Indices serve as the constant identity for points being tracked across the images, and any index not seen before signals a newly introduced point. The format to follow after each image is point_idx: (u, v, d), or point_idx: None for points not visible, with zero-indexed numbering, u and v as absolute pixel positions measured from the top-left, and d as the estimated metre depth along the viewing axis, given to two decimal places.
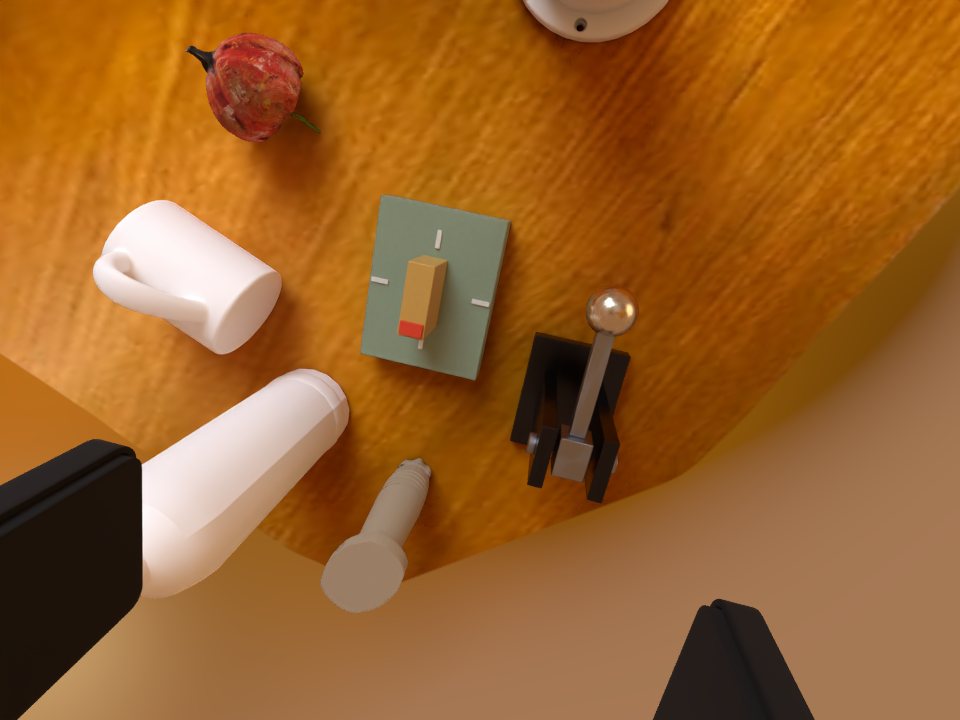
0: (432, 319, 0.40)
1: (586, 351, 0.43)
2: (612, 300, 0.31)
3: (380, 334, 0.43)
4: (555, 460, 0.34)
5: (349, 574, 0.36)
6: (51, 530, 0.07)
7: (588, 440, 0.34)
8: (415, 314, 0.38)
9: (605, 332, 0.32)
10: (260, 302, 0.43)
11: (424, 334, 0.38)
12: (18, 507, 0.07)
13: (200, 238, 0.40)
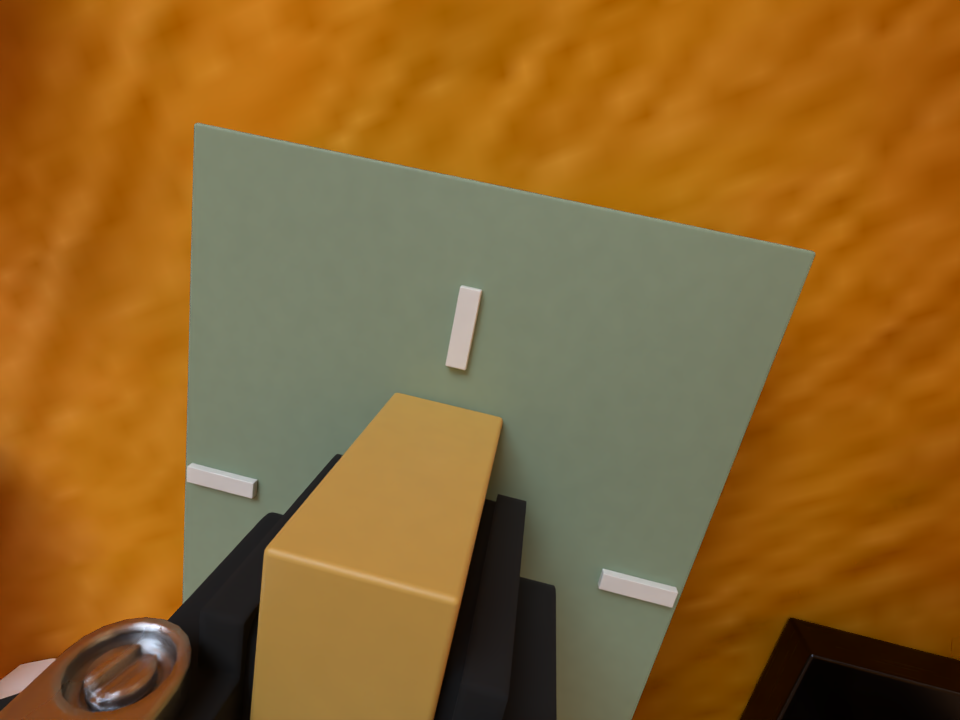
0: None
1: None
2: None
3: None
4: None
5: None
6: None
7: None
8: None
9: None
10: None
11: None
12: None
13: None
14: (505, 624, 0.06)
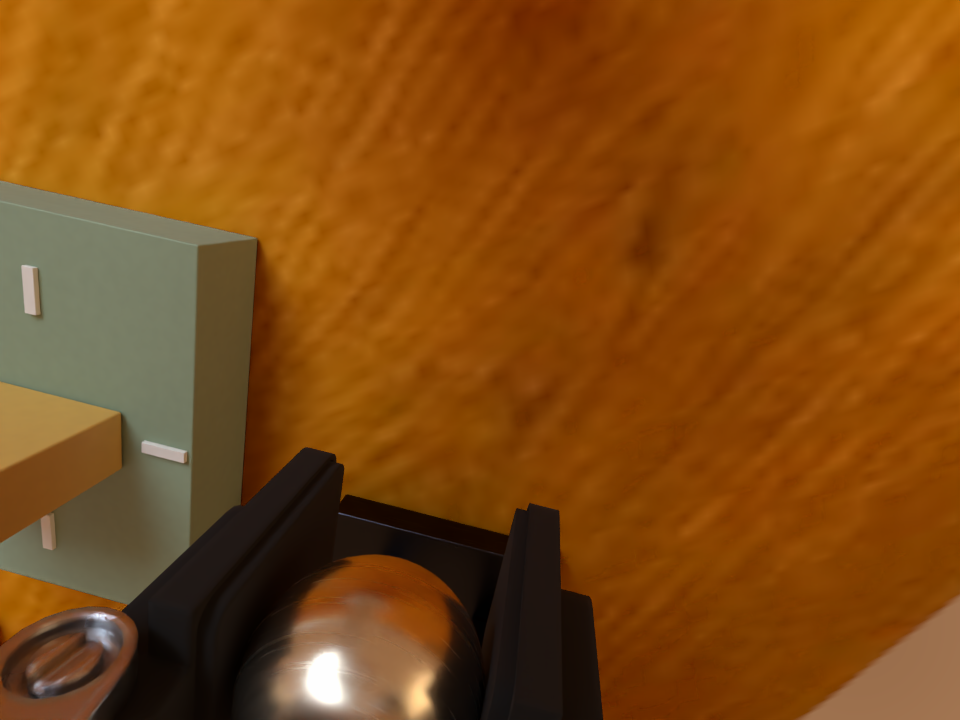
0: (17, 433, 0.14)
1: (454, 554, 0.18)
2: None
3: None
4: None
5: None
6: (302, 528, 0.08)
7: None
8: None
9: None
10: None
11: None
12: (281, 508, 0.08)
13: None
14: (551, 639, 0.06)
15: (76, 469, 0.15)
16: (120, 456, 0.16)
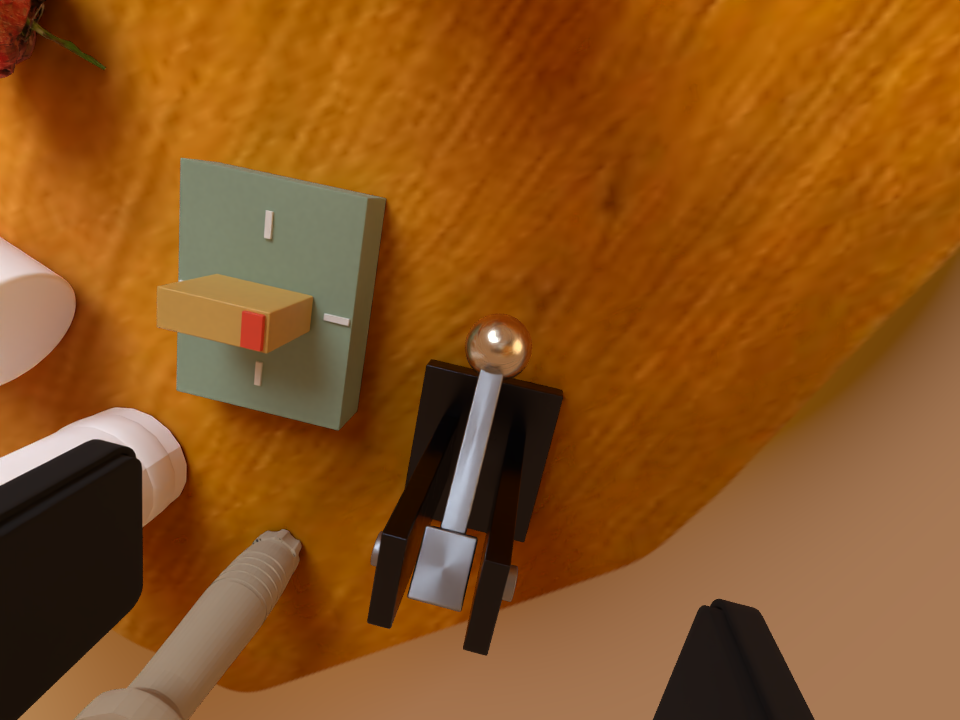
0: (272, 298, 0.26)
1: None
2: (496, 319, 0.24)
3: (201, 364, 0.30)
4: (415, 568, 0.21)
5: None
6: (51, 530, 0.07)
7: (470, 536, 0.22)
8: (230, 321, 0.24)
9: (489, 363, 0.24)
10: (28, 317, 0.30)
11: (263, 309, 0.24)
12: (18, 507, 0.07)
13: None
14: None
15: (297, 322, 0.26)
16: (310, 322, 0.28)
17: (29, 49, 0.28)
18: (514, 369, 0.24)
